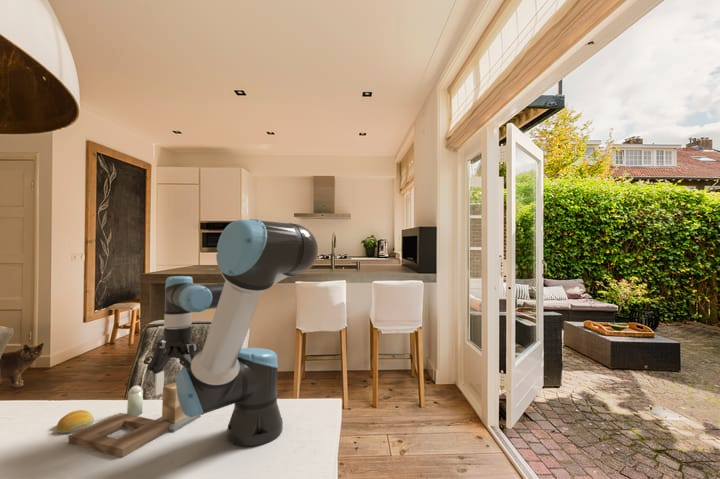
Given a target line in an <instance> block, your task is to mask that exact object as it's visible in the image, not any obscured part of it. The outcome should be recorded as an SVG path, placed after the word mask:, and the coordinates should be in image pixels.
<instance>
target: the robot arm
mask: <svg viewBox="0 0 720 479" xmlns="http://www.w3.org/2000/svg"><path fill="white" fill-rule="evenodd" d="M216 251H217V253H216V255H215V256H216V257H215V258H216V264H217V267H218V269H219V271H221V273H220V274H221V275H222V276H221V277H223V279H224V282H216V283H215V282H214V283H201V284H200V283H198V284H194V280H193V277H192V276H191V275H190V276H188V275H186V276H185V275H181V276H180V275H178V276H176V275H175V276H169V277H167V278H166V280H165V286H164V290H165V292H164V318H163V320H164V321H163V327H165V328H164V329H163V340H159V341H157V343H156V344H157V345H156V348H155V351H154V354H153V356H152V358H151V360H150V363H149V366H148V371H152V373H153V385H154V389H153V391H154V392H153V396H159V395H161V394H163V387H164V386H165V371H164V368H165V367H166V365H168V363H169V361H170V360H171V359H174V358H175V359H179V360H180V361H181V362H182V363H183V365H184V368H182V369H179V370H178V371H177V373H176V377H175V382H176V390H177V396H178V400H179V404H180V407H181V409H182V411H183V413H184V414H185V415H186V416H188V417H194V416H197V415H201V416H203V415H205V414H207V413H210V412H213V411H217V410H220V409H222V408H226V407H228V406H231V405H233V404H234V407H233V410H232V413H231V415H230V416H231V417H230V419H229V423H228V426H227V430H226V431H227V432H226V434H227V435H226V438H227V441H228V442H230V443H231V444H233V445H236V446H240V447H253V446H254V447H255V446H260V445H265V444H267V443H270V442H272V441H274V440H275V439H276V438H278V437H279V436H280V435H281V434H282V432H283V424H284V421H283V417H282V414H281V411H280V407H279V405H278V369H279V365H278V354H277V353H276V352H275V351H274V350H272V349H267V348H263V347H262V348H261V347H244V348H243V345H244V342H245V340H246V337H247V335H248V332H249V329H250V327H251V325H252V322H253V320H254V316H255V313H256V312H257V308H258V306H259V303H260V300H261V298H262V295H263V293H264V292H265V291H268V290H271V288H272V286H274V285H276V284H278V283H279V282H281V281H282V280H284V279H286V278H294V277H297V276H299V275H301V274H303V273H305V272H307V271H308V270H309V269H310V268H311V267H312V266H313V265H314V264H315V262H316V260H317V258H318V253H319V248H318V242H317V240H316V236H315V235H314V234H313V233H312V232H311V231H310V230H309V229H308V228H306V227H305V226H304V225H301V224H298V223H291V222H289V223H286V222H279V221H278V222H275V221H267V220H266V221H265V220H260V219H256V218H254V219H252V218H251V219H237V220H234V221H231V222H230V223H229V224H227V225H226V227H225V228H224V229H223V230H222V232H221V234H220V236H219V239H218V241H217V246H216ZM212 309H215V311H214V314H213V317H212V320H211V322H210V326H209V330H208V332H207V335H206V339H205V341H204V344H203V347H202V350H201V351H199V343H197V342H196V343H190V339H191V338H192V326H191V325H192V323H193V322H192V317H193V313H201V312H204V311H205V310H212Z"/></svg>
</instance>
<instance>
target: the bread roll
mask: <svg viewBox="0 0 720 479" xmlns="http://www.w3.org/2000/svg"><path fill="white" fill-rule="evenodd" d="M94 420H95V417H94V415H93V414H92V413H91V412H89V411H88V410H83V409H82V410H80V409H79V410H75V411H71V412H69V413H66V414H65V415H64V416H63V417H61V418H60V419H59V420H58V422H57V424H56V427H57V428H56V432H57V433H58V434H73V433H75V432H78V431H80V430H82V429H84V428H87V427H89V426H91V425H93V422H94Z"/></svg>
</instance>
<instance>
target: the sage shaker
mask: <svg viewBox="0 0 720 479" xmlns="http://www.w3.org/2000/svg"><path fill="white" fill-rule="evenodd" d="M143 399H144V389H143V388H142V386H140V385H134V386H132V387H131V388H129V391H128V392H127V405H126V406H127V407H126V408H127V409H126V414H129V415H134V416H139V417H140V415H142V414H143V402H144V401H143Z"/></svg>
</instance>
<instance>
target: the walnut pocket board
mask: <svg viewBox="0 0 720 479" xmlns="http://www.w3.org/2000/svg"><path fill="white" fill-rule="evenodd" d="M124 428H126V429H131V430H132V431H130V432H128V433H126V434H124V435H122V436H120V437H118V438H115V437H112V436H111V437H110V436H109V435H111V434H114V433H116V432H117V431H120V430H122V429H124ZM169 428H170V423H168V422H163V421H158V420H156V419H152V418H147V417H143V416H140V415H139V416H134V415H129V414H127V413H124V412H118V413H116V414H114V415H112V416H110V417H108V418H105V419H102V420H100V421H98V422H96V423H94V424H93V423H92V424H91V425H90V426H88V427H87V428H84V429H82V430H80V431H77V432H73V433H70V434H69V435H68V438H67V439H68V440H67V443H68V444H70V445H73V446H77V447H81V448H85V449H88V450H89V449H90V450H93V451H97V452H101V453H105V454H108V455H113V456H114V457H115V456H116V457H120V458H123V457H125V456H127V455H129V454H131V453H132V452H134V451H136V450H138V449H139V448H142V447H143V446H145V445H147V444H148V443H150V442H152V441H153V440H155V439H157V438H159V437H160V436H162V435H165V433H168V432H170V431H169Z"/></svg>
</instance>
